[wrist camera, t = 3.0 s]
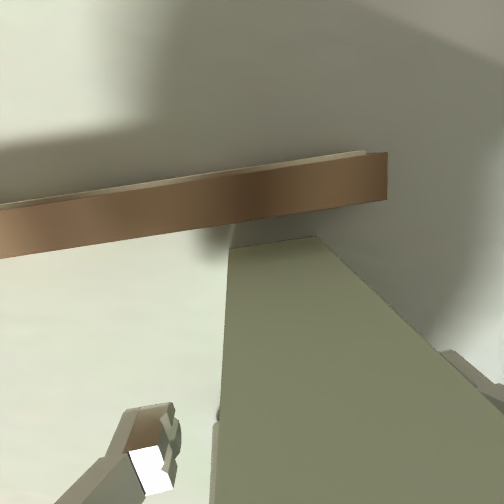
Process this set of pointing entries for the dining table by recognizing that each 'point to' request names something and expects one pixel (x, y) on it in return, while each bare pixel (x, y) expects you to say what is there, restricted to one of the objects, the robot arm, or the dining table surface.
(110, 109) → the dining table surface
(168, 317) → the dining table surface
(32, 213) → the rail
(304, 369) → the sage tea box
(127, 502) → the robot arm
